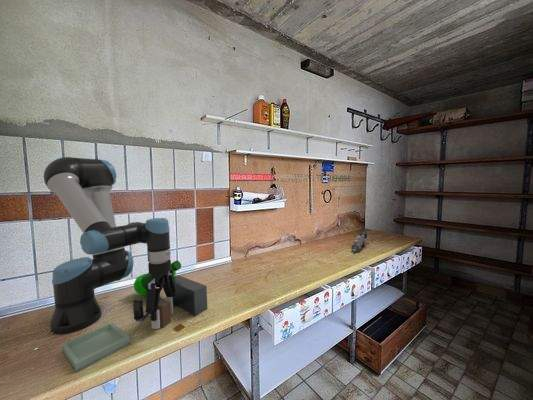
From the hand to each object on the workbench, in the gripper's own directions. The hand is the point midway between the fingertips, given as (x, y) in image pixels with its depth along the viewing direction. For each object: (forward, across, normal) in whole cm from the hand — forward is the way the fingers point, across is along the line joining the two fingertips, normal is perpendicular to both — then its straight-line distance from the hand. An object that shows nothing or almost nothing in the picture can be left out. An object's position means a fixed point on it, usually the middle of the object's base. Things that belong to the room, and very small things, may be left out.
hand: (163, 320), depth 85 cm
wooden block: (+2, 0, 0) cm, 2 cm away
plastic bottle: (-2, +22, +25) cm, 33 cm away
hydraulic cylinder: (+2, +105, -100) cm, 145 cm away
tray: (+1, -14, +14) cm, 20 cm away
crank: (-3, 0, +5) cm, 6 cm away
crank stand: (+1, +8, -1) cm, 8 cm away
